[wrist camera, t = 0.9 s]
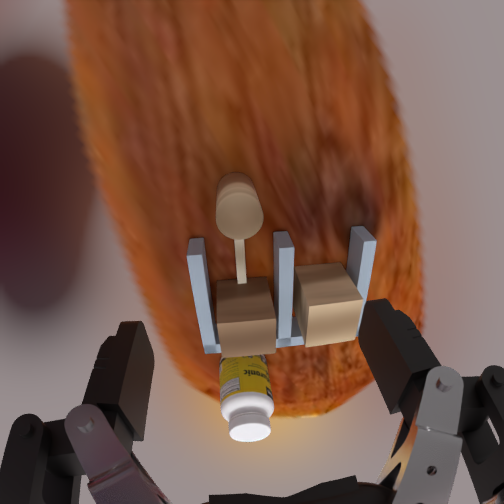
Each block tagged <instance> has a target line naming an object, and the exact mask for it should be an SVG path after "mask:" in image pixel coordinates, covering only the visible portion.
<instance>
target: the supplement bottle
mask: <svg viewBox="0 0 504 504" xmlns="http://www.w3.org/2000/svg"><path fill="white" fill-rule="evenodd" d="M219 371H220V402H221V413H222V415H223V417H224V418H225V419H226V420H227V421H228V422H229V434H230V437H232V438H233V439H235V440H237V441H243V442H253V441H258V440H261V439H264V438H265V437H267V436H268V435H269V434H270V432H271V427H270V421H269V417H270V416H271V415H272V413H273V410H274V403H273V397H272V391H271V386H270V380H269V374H268V368H267V363H266V359H265V357H264V355H263V354H262V355H252V356H241V357H228V358H221V360H220V365H219Z"/></svg>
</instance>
